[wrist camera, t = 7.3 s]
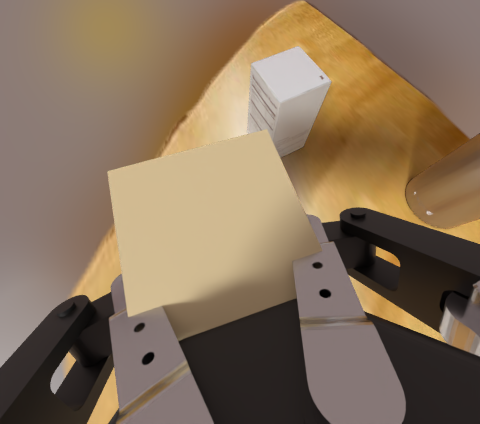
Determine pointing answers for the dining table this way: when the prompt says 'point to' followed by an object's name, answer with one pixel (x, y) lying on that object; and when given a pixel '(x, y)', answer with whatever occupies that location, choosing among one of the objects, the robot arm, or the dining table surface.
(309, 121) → the supplement box
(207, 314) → the tea tin
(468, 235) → the dining table surface
